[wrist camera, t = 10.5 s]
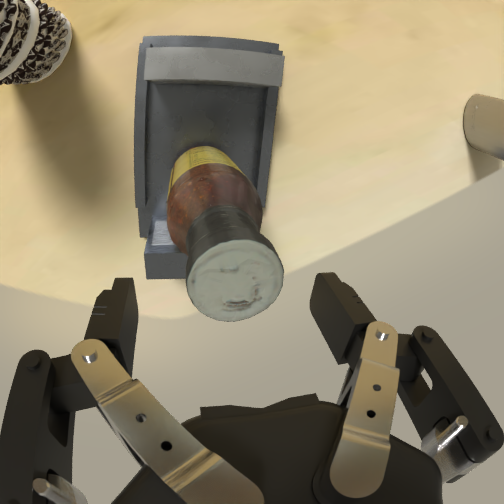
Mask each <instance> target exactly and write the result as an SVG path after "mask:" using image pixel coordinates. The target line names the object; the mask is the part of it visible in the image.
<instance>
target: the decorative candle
mask: <svg viewBox="0 0 504 504" xmlns="http://www.w3.org/2000/svg"><path fill="white" fill-rule="evenodd" d="M71 40H72V29H71V23H70V22H69V20H68V19H67V18H66V17H65V15H64V14H62V13H61V12H60V11H55V8H54V7H48V5H47V4H46V3H42V4H41V1H40V0H0V85H2V84H3V83H5V84H7V85H9V84H12V83H13V84H16V85H18V84H28V83H35V82H39V81H41V80H43V79H44V78H46V77H48V76H50V75H51V74H52V73H53V72H54V71H55V70H56V69H57V68H58V67H59V66H60V65H61V64H62V62H63V60H64V58H65V56H66V55H67V53H68V51H69V49H70V44H71Z"/></svg>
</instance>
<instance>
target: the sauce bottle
mask: <svg viewBox="0 0 504 504" xmlns="http://www.w3.org/2000/svg"><path fill="white" fill-rule="evenodd" d="M166 210H167V227H168V231H169V235H170V237H171V240H172V242H173V243H174V244H175V245H177V247H178V248H179V250H180V251H181V252H183V253H184V254H186V255H187V256H188V260H187V264H186V286H187V292H188V295H189V297H190V299H191V301H192V303H193V304H194V305H195V307H196V308H197V309H198V310H199V311H200V312H201V313H203V314H205V315H206V316H208V317H210V318H213V319H215V320H219V321H227V322H229V321H233V322H235V321H240V320H244V319H247V318H250V317H252V316H255V315H256V314H258V313H260V312H262V311H263V310H265V309H267V308H268V307H269V306H270V305H271V304H272V303H273V302H274V301H275V300H276V298H277V297H278V295H279V293H280V291H281V288H282V286H283V274H284V269H283V265H282V263H281V260H280V258H279V256H278V254H277V252H276V250H275V248H274V247H273V245H272V244H271V242H270V241H269V240H268V239H267V238H266V237H264V236H263V235H262V234H260V228H261V223H262V216H263V210H262V204H261V200H260V197H259V195H258V192H257V190H256V189H255V187H254V185H253V184H252V183H251V181H250V180H249V179H248V178H247V177H246V176H245V175H244V174H243V173H242V171H241V170H240V169H239V168H238V167H237V166H236V164H235V163H234V162H233V161H232V160H231V159H230V158H229V157H228V156H227V155H226V154H225V153H224V152H222V151H221V150H219V149H216V148H213V147H210V146H201V147H194V148H190V149H189V150H188V151H187V152H185V153H184V154H182V155H181V156H180V157H179V158H178V160H177V161H176V162H175V164H174V167H173V169H172V172H171V176H170V182H169V190H168V197H167V207H166Z"/></svg>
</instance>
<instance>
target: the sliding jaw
mask: <svg viewBox="0 0 504 504" xmlns="http://www.w3.org/2000/svg"><path fill="white" fill-rule="evenodd" d="M284 58H285V56H281V55H275V54H268V53H261V52H253V51H244V50H233V49H220V48H202V47H152V48H147V49H146V59H145V70H144V80H145V81H148V82H150V83H153V84H211V85H228V86H241V87H252V88H268V87H281V85H282V76H283V67H284Z"/></svg>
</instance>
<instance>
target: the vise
mask: <svg viewBox="0 0 504 504" xmlns="http://www.w3.org/2000/svg"><path fill="white" fill-rule="evenodd" d="M152 47H202V48H220V49H233V50H244V51H253V52H261V53H268V54H275V55H281V56H282V53H283V51H279V50H278V49H279V44H275V43H269V42H262V41H254V40H246V39H236V38H225V37H210V36H145V37H143V43H140V46H139V56H138V67H137V79H136V95H135V118H134V180H135V204H136V208H138V216H139V231H140V237H147V242H146V246H145V251H144V259H145V269H146V278H147V279H186V264H187V260H188V256H187V255H186V254H184V253H183V252H181V251H180V250H179V248H178V247H177V245H175V244H174V243H173V242H172V240H171V237H170V235H169V231H168V227H167V210H166V207H167V197H168V190H169V182H170V176H171V172H172V169H173V167H174V164H175V162H176V161H177V160H178V158H179V157H180V156H181V155H182V154H184V153H185V152H187V151H188V150H189V149H190V148H194V147H201V146H210V147H213V148H216V149H219V150H221V151H222V152H224V153H225V154H226V155H227V156H228V157H229V158H230V159H231V160H232V161H233V162H234V163H235V164H236V166H237V167H238V168H239V169H240V170H241V171H242V173H243V174H244V175H245V176H246V177H247V178H248V179H249V180H250V181H251V183H252V184H253V185H254V187H255V189H256V190H257V192H258V195H259V197H260V200H261V204H262V207H265V201H266V192H267V184H268V176H269V167H270V159H271V150H272V141H273V133H274V124H275V115H276V107H277V98H278V89H279V87H268V88H252V87H241V86H228V85H211V84H153V83H150V82H148V81H145V80H144V70H145V59H146V49H147V48H152Z"/></svg>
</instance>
